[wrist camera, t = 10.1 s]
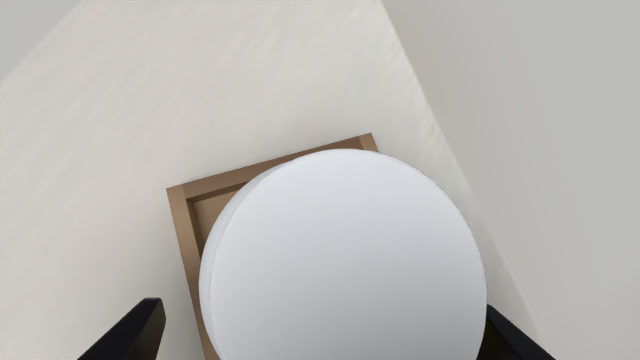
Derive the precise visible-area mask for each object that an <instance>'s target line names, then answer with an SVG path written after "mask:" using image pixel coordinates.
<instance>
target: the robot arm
mask: <svg viewBox="0 0 640 360" xmlns="http://www.w3.org/2000/svg"><path fill="white" fill-rule="evenodd" d="M165 322H166V316H165V311H164V307H163V302H162V300H161V299H160V298H145V299H143V300H142V301H140V302H139V303H138V304H137V305H136V306H135V307H134V308H133V309H132V310H131V311H129V312H128V313H127V314H126V315H125V316H124V317H123V318H122V319H121V320H120V321H119V322H117V323H116V324H115V325H114V326H113V327H112V328H111V329H110V330H109V331H108V332H107V333H105V334H104V335H103V336H102V337H101V338H100V339H99V340H98V341H97V342H96V343H95V344H93V345H92V346H91V347H90V348H89V349H88V350H87V351H86V352H85V353H84V354H83V355H81V356H80V357H79V358H78V359H77V360H156V356H157V353H158V349H159V345H160V342H161V338H162V335H163V331H164V327H165ZM476 360H556V359H554V358H553V357H552V356H551V355H549V354H548V353H547V352H546V351H545V350H544V349H542V348H541V347H540V346H539V345H538V344H536V343H535V342H534V341H533V340H532V339H530V338H529V337H528V336H527V335H526V334H525V333H523V332H522V331H521V330H520V329H519V328H517V327H516V326H515V325H514V324H513V323H511V322H510V321H509V320H508V319H507V318H505V317H504V316H503V315H502V314H501V313H499V312H498V311H497V310H496V309H495V308H493V307H492V306H491V305H489V304H487V306H486V321H485V328H484V334H483V339H482V342H481V346H480V349H479V352H478V355H477V359H476Z"/></svg>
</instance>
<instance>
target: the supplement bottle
mask: <svg viewBox="0 0 640 360" xmlns="http://www.w3.org/2000/svg"><path fill="white" fill-rule="evenodd" d="M199 298H200V306H201V312H202V317H203V320H204V324H205V328H206V331H207V333H208V336H209V338H210V340H211V343H212V345H213V347H214V349H215V351H216V353H217V354H218V356H219V358H220V360H476V359H477V355H478V352H479V349H480V346H481V342H482V339H483V334H484V328H485V321H486V306H487V288H486V278H485V272H484V267H483V263H482V259H481V255H480V251H479V249H478V246H477V243H476V240H475V238H474V236H473V233H472V231H471V229H470V227H469V225H468V224H467V222H466V220H465V218H464V217H463V215H462V214H461V212H460V211H459V209H458V208H457V207H456V205H455V204H454V203H453V201H452V200H451V199H450V198H449V197H448V195H447V194H446V193H445V192H444V191H443V190H442V189H441V188H440V187H439V186H438V185H437V184H435V183H434V182H433V181H432V180H431V179H429V178H428V177H427V176H426V175H425V174H423V173H422V172H420V171H419V170H417V169H415V168H414V167H412V166H410V165H409V164H407V163H405V162H402V161H400V160H398V159H395V158H393V157H390V156H387V155H384V154H381V153H378V152H373V151H367V150H359V149H330V150H324V151H320V152H316V153H312V154H308V155H305V156H302V157H299V158H296V159H294V160H292V161H288V162H285V163H282V164H280V165H277V166H275V167H273V168H271V169H269V170H267V171H265V172H263V173H261V174H260V175H258V176H256V177H255V178H253V179H252V180H251V181H249V182H248V183H247V184H246V185H245V186H243V187H242V188H241V189H240V190H239V191H238V192H237V193H236V194H235V195H234V196H233V198H232V199H231V200H230V201H229V202H228V204H227V205H226V206H225V208H224V209H223V210H222V212H221V213H220V215H219V216H218V218H217V220H216V222H215V224H214V225H213V227H212V230H211V232H210V234H209V236H208V239H207V242H206V244H205V247H204V251H203V255H202V260H201V266H200V274H199Z"/></svg>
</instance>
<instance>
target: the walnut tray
mask: <svg viewBox="0 0 640 360" xmlns="http://www.w3.org/2000/svg"><path fill="white" fill-rule="evenodd" d="M330 149H359V150H367V151H373V152H378V149H377V147H376V144H375V141H374V139H373V136H372V134H371V133H368V134H365V135H361V136H357V137H354V138H350V139H346V140H343V141H339V142H335V143H332V144H328V145H324V146H320V147H317V148H313V149H309V150H306V151H302V152H298V153H295V154H291V155H287V156H284V157H280V158H276V159H273V160H269V161H265V162H262V163H258V164H254V165H251V166H247V167H243V168H240V169H236V170H232V171H229V172H225V173H221V174H218V175H214V176H210V177H207V178H203V179H199V180H196V181H192V182H188V183H185V184H181V185H177V186H174V187H170V188H166V190H167V195H168V199H169V203H170V208H171V212H172V216H173V221H174V225H175V229H176V234H177V238H178V242H179V246H180V251H181V255H182V259H183V264H184V268H185V272H186V277H187V281H188V285H189V290H190V294H191V298H192V303H193V307H194V311H195V316H196V320H197V324H198V329H199V333H200V337H201V341H202V346H203V350H204V354H205V359H206V360H220V358H219V356H218V354H217V353H216V351H215V349H214V347H213V345H212V343H211V340H210V338H209V336H208V333H207V331H206V328H205V324H204V320H203V317H202V312H201V306H200V298H199V274H200V266H201V260H202V255H203V251H204V247H205V244H206V242H207V239H208V236H209V234H210V232H211V230H212V227H213V225H214V224H215V222H216V220H217V218H218V216H219V215H220V213H221V212H222V210H223V209H224V208H225V206H226V205H227V204H228V202H229V201H230V200H231V199H232V198H233V196H234V195H235V194H236V193H237V192H238V191H239V190H240V189H241V188H242V187H243V186H245V185H246V184H247V183H248V182H249V181H251V180H252V179H253V178H255V177H256V176H258V175H260V174H261V173H263V172H265V171H267V170H269V169H271V168H273V167H275V166H277V165H280V164H282V163H285V162H288V161H292V160H294V159H296V158H299V157H302V156H305V155H308V154H312V153H316V152H320V151H324V150H330ZM378 153H379V152H378Z"/></svg>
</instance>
